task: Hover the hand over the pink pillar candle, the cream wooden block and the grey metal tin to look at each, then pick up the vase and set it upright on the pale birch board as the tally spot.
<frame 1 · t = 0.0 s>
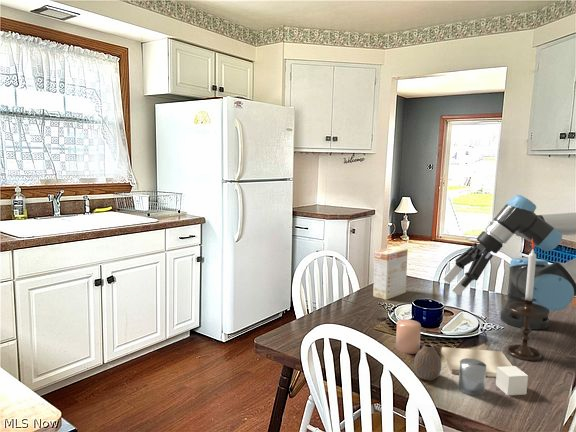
hand: (450, 286, 144), 15 cm above the table, tool tilted 35°, fingers open, 13 cm apart
cream block: (510, 389, 109), on the table
candlestick: (523, 354, 129), on the table
grey tin: (471, 390, 109), on the table
vase: (426, 377, 115), on the table
pink pillar candle: (407, 348, 132), on the table
birch board: (477, 363, 123), on the table
coffeecake box: (389, 294, 185), on the table
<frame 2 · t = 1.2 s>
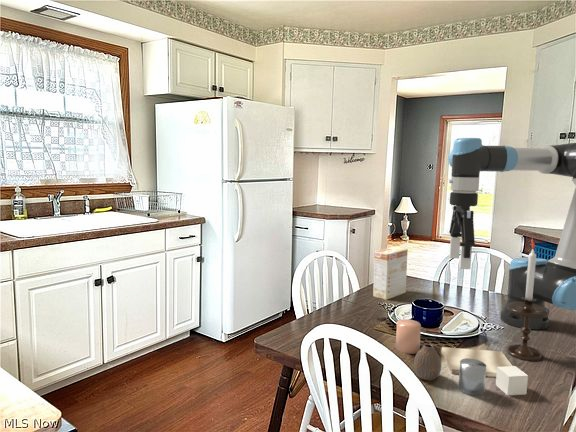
hand: (459, 263, 129), 27 cm above the table, tool pointing down, fingers open, 13 cm apart
nothing on the table moved.
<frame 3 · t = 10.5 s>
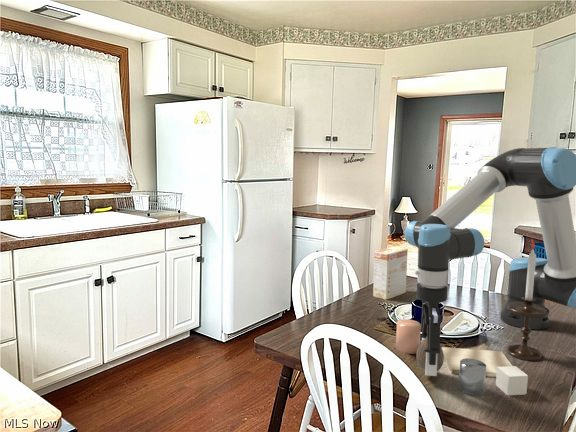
hand: (428, 367, 115), 2 cm above the table, tool pointing down, fingers closed on vase, 7 cm apart
vase: (429, 369, 115), point 2 cm above the table, touching gripper
everything else where it was.
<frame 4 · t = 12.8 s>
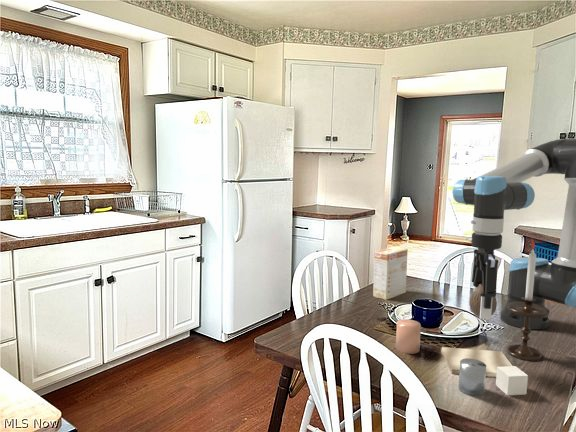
hand: (481, 314, 121), 15 cm above the table, tool pointing down, fingers closed on vase, 7 cm apart
vase: (482, 315, 121), point 14 cm above the table, touching gripper
everything else where it was.
when the fingers open (2 cm above the table, at t = 15.5 s): vase stays where it is, resting on birch board.
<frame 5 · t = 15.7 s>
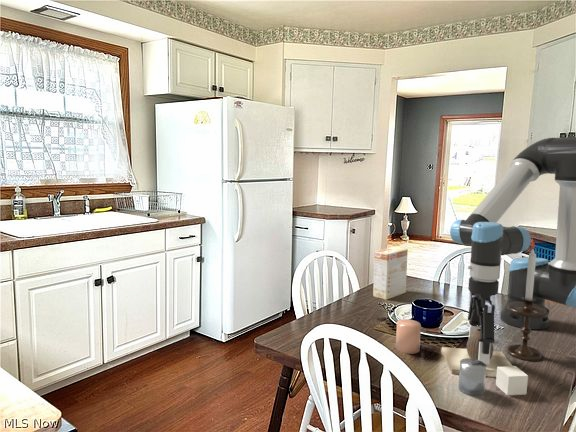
hand: (478, 355, 122), 3 cm above the table, tool pointing down, fingers open, 9 cm apart
vase: (478, 360, 123), point 1 cm above the table, touching birch board
everything else where it was.
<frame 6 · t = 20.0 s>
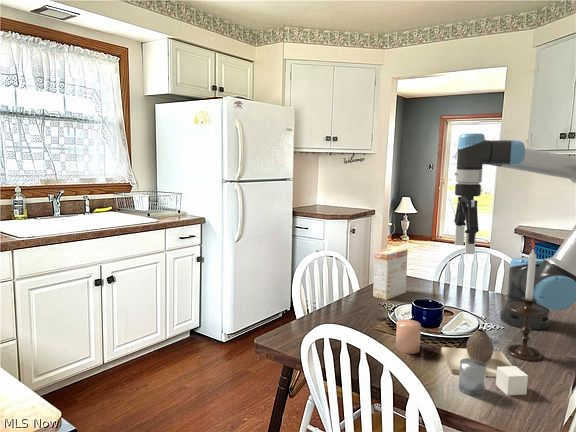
hand: (463, 249, 140), 29 cm above the table, tool pointing down, fingers open, 13 cm apart
nothing on the table moved.
at the end: vase inside the target area on the birch board (0.3 cm from its centre), point 1.0 cm above the birch board's base; vase tilted 0°; the gripper is holding nothing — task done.
